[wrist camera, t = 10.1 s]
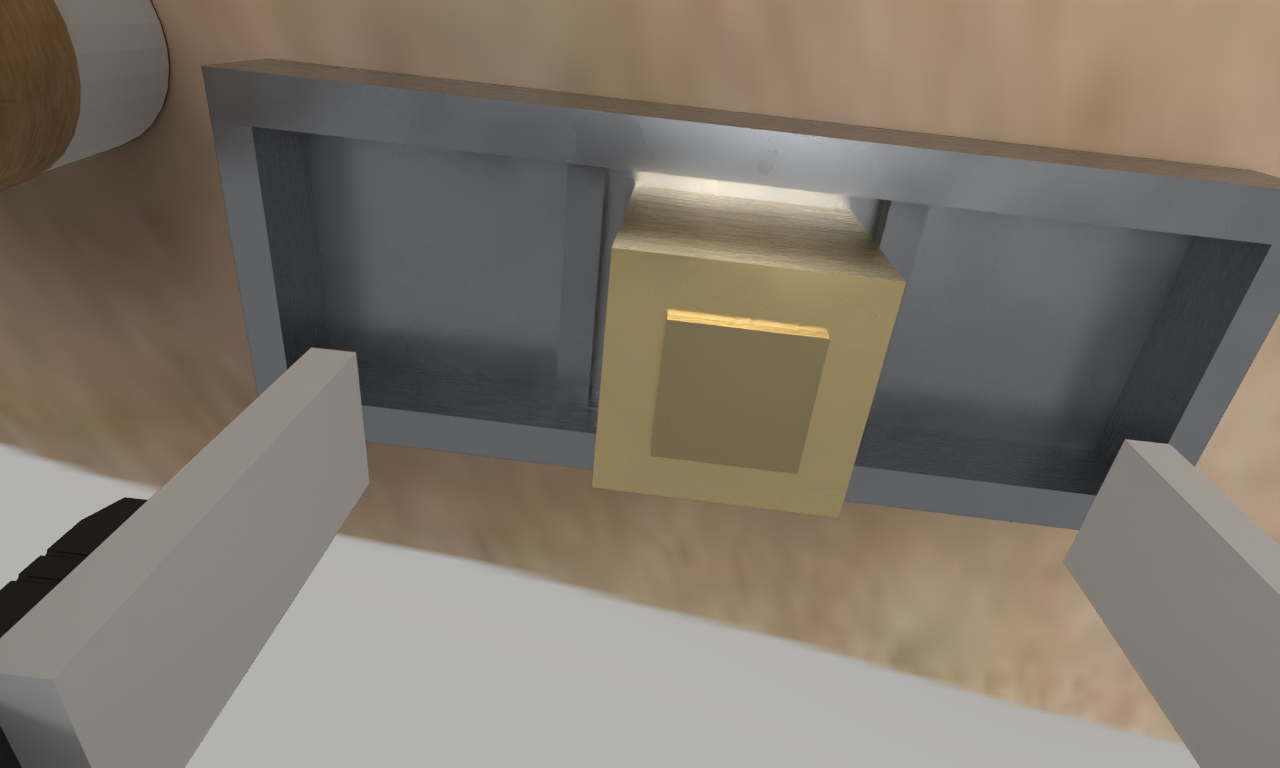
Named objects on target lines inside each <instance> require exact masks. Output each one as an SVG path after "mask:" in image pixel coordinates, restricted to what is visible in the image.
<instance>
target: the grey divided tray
mask: <svg viewBox="0 0 1280 768" xmlns="http://www.w3.org/2000/svg"><path fill="white" fill-rule="evenodd" d="M202 72H203V77H204V83H205V89H206V95H207V101H208V107H209V113H210V118H211V124H212V130H213V136H214V142H215V148H216V153H217V159H218V165H219V171H220V177H221V183H222V189H223V194H224V200H225V206H226V212H227V218H228V224H229V230H230V235H231V241H232V247H233V253H234V259H235V265H236V271H237V276H238V282H239V288H240V294H241V300H242V306H243V311H244V317H245V323H246V329H247V335H248V341H249V347H250V352H251V358H252V364H253V370H254V376H255V382H256V388H257V393H258V397H259V396H260V395H261V394H262V393H263V392H264V391H265V390H266V389H267V388H268V387H269V386H271V385H272V384H273V383H274V382H275V381H276V380H277V379H278V378H279V377H280V376H281V375H282V374H283V373H284V372H286V371H287V370H288V369H289V368H290V367H291V366H292V365H293V364H294V363H295V362H296V361H297V360H298V359H299V358H300V357H302V356H303V355H304V354H305V353H306V352H307V351H308V350H309V349H310V348H311V347H312V348H321V349H330V350H339V351H348V352H356V357H357V367H358V376H359V386H360V395H361V405H362V415H363V424H364V434H365V442H373V443H381V444H390V445H398V446H406V447H414V448H422V449H430V450H438V451H446V452H454V453H462V454H470V455H478V456H486V457H494V458H502V459H510V460H518V461H526V462H535V463H543V464H551V465H559V466H567V467H575V468H583V469H591V470H593V469H594V457H595V445H596V433H597V421H598V408H599V396H600V384H601V372H602V360H603V348H604V336H605V324H606V311H607V299H608V287H609V275H610V263H611V251H612V246H613V243H614V240H615V238H616V235H617V232H618V230H619V227H620V224H621V222H622V219H623V216H624V214H625V211H626V208H627V206H628V203H629V200H630V198H631V195H632V192H633V190H634V187H635V185H638V186H646V187H655V188H664V189H672V190H681V191H689V192H698V193H706V194H715V195H724V196H732V197H741V198H749V199H758V200H767V201H775V202H784V203H792V204H801V205H810V206H818V207H827V208H835V209H844V210H851V211H852V213H853V214H854V215H855V217H856V218H857V219H858V221H859V222H860V223H861V224H862V226H863V227H864V228H865V230H866V231H867V232H868V233H869V235H870V236H871V237H872V239H873V240H874V241H875V243H876V244H877V245H878V246H879V248H880V249H881V250H882V252H883V253H884V254H885V255H886V257H887V258H888V259H889V261H890V262H891V263H892V265H893V266H894V267H895V268H896V270H897V271H898V272H899V274H900V275H901V276H902V277H903V279H904V280H905V281H906V285H905V289H904V292H903V296H902V299H901V303H900V306H899V310H898V313H897V317H896V320H895V324H894V327H893V331H892V334H891V338H890V341H889V345H888V348H887V352H886V355H885V359H884V362H883V366H882V369H881V373H880V376H879V380H878V383H877V387H876V390H875V394H874V397H873V401H872V404H871V408H870V411H869V415H868V418H867V422H866V425H865V429H864V432H863V436H862V439H861V443H860V446H859V450H858V453H857V457H856V460H855V464H854V467H853V471H852V474H851V478H850V481H849V485H848V488H847V492H846V495H845V499H844V501H849V502H857V503H865V504H873V505H881V506H889V507H897V508H905V509H913V510H921V511H929V512H937V513H945V514H953V515H961V516H970V517H978V518H986V519H994V520H1002V521H1010V522H1018V523H1026V524H1034V525H1042V526H1050V527H1058V528H1066V529H1074V530H1080V528H1081V526H1082V524H1083V522H1084V520H1085V518H1086V516H1087V514H1088V512H1089V510H1090V508H1091V506H1092V504H1093V502H1094V500H1095V498H1096V496H1097V494H1098V492H1099V490H1100V488H1101V486H1102V484H1103V482H1104V480H1105V478H1106V476H1107V474H1108V472H1109V470H1110V468H1111V466H1112V464H1113V462H1114V460H1115V458H1116V456H1117V454H1118V452H1119V450H1120V448H1121V446H1122V444H1123V442H1124V440H1125V439H1128V440H1137V441H1146V442H1155V443H1163V444H1170V445H1171V446H1173V447H1174V448H1175V449H1176V450H1177V451H1178V452H1179V453H1180V454H1181V455H1182V456H1183V457H1184V458H1186V459H1187V460H1188V461H1189V462H1190V463H1191V464H1192V465H1193V466H1194V467H1195V465H1196V464H1197V462H1198V460H1199V458H1200V456H1201V455H1202V453H1203V451H1204V449H1205V447H1206V446H1207V444H1208V442H1209V440H1210V438H1211V436H1212V435H1213V433H1214V431H1215V429H1216V427H1217V426H1218V424H1219V422H1220V420H1221V418H1222V417H1223V415H1224V413H1225V411H1226V409H1227V407H1228V406H1229V404H1230V402H1231V400H1232V398H1233V397H1234V395H1235V393H1236V391H1237V389H1238V388H1239V386H1240V384H1241V382H1242V380H1243V379H1244V377H1245V375H1246V373H1247V371H1248V369H1249V368H1250V366H1251V364H1252V362H1253V360H1254V359H1255V357H1256V355H1257V353H1258V351H1259V350H1260V348H1261V346H1262V344H1263V342H1264V340H1265V339H1266V337H1267V335H1268V333H1269V331H1270V330H1271V328H1272V326H1273V324H1274V322H1275V321H1276V319H1277V317H1278V315H1279V313H1280V178H1277V177H1274V176H1270V175H1267V174H1263V173H1260V172H1256V171H1251V170H1242V169H1234V168H1225V167H1216V166H1207V165H1198V164H1190V163H1181V162H1172V161H1163V160H1154V159H1146V158H1137V157H1128V156H1119V155H1111V154H1102V153H1093V152H1084V151H1075V150H1067V149H1058V148H1049V147H1040V146H1031V145H1023V144H1014V143H1005V142H996V141H987V140H979V139H970V138H961V137H952V136H943V135H935V134H926V133H917V132H908V131H900V130H891V129H882V128H873V127H864V126H856V125H847V124H838V123H829V122H820V121H812V120H803V119H794V118H785V117H776V116H768V115H759V114H750V113H741V112H733V111H724V110H715V109H706V108H697V107H689V106H680V105H671V104H662V103H653V102H645V101H636V100H627V99H618V98H609V97H601V96H592V95H583V94H574V93H565V92H557V91H548V90H539V89H530V88H522V87H513V86H504V85H495V84H486V83H478V82H469V81H460V80H451V79H442V78H434V77H425V76H416V75H407V74H398V73H390V72H381V71H372V70H363V69H355V68H346V67H337V66H328V65H319V64H311V63H302V62H293V61H284V60H275V59H263V60H253V61H244V62H234V63H225V64H215V65H205V66H202Z"/></svg>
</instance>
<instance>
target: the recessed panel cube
mask: <svg viewBox="0 0 1280 768" xmlns="http://www.w3.org/2000/svg"><path fill="white" fill-rule="evenodd" d="M905 285H906V281H905V280H904V279H903V277H902V276H901V275H900V274H899V272H898V271H897V270H896V268H895V267H894V266H893V265H892V263H891V262H890V261H889V259H888V258H887V257H886V255H885V254H884V253H883V252H882V250H881V249H880V248H879V246H878V245H877V244H876V243H875V241H874V240H873V239H872V237H871V236H870V235H869V233H868V232H867V231H866V230H865V228H864V227H863V226H862V224H861V223H860V222H859V221H858V219H857V218H856V217H855V215H854V214H853V213H852V211H851V210H844V209H835V208H827V207H818V206H810V205H801V204H792V203H784V202H775V201H767V200H758V199H749V198H741V197H732V196H724V195H715V194H706V193H698V192H689V191H681V190H672V189H664V188H655V187H646V186H638V185H635V187H634V190H633V192H632V195H631V198H630V200H629V203H628V206H627V208H626V211H625V214H624V216H623V219H622V222H621V224H620V227H619V230H618V232H617V235H616V238H615V240H614V243H613V246H612V251H611V263H610V275H609V287H608V299H607V311H606V324H605V336H604V348H603V360H602V372H601V384H600V396H599V408H598V421H597V433H596V445H595V457H594V469H593V481H592V487H593V488H601V489H609V490H617V491H625V492H633V493H641V494H649V495H658V496H666V497H674V498H682V499H690V500H698V501H706V502H714V503H722V504H730V505H738V506H746V507H754V508H762V509H770V510H778V511H786V512H794V513H802V514H810V515H818V516H826V517H834V518H839V516H840V513H841V509H842V506H843V502H844V499H845V495H846V492H847V488H848V485H849V481H850V478H851V474H852V471H853V467H854V464H855V460H856V457H857V453H858V450H859V446H860V443H861V439H862V436H863V432H864V429H865V425H866V422H867V418H868V415H869V411H870V408H871V404H872V401H873V397H874V394H875V390H876V387H877V383H878V380H879V376H880V373H881V369H882V366H883V362H884V359H885V355H886V352H887V348H888V345H889V341H890V338H891V334H892V331H893V327H894V324H895V320H896V317H897V313H898V310H899V306H900V303H901V299H902V296H903V292H904V289H905Z"/></svg>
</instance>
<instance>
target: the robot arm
mask: <svg viewBox="0 0 1280 768" xmlns="http://www.w3.org/2000/svg"><path fill="white" fill-rule="evenodd" d="M369 483H370V482H369V472H368V463H367V453H366V444H365V434H364V424H363V415H362V405H361V395H360V386H359V376H358V367H357V357H356V352H348V351H339V350H330V349H321V348H312V347H311V348H310V349H309V350H308V351H307V352H306V353H305V354H304V355H303V356H302V357H300V358H299V359H298V360H297V361H296V362H295V363H294V364H293V365H292V366H291V367H290V368H289V369H288V370H287V371H286V372H284V373H283V374H282V375H281V376H280V377H279V378H278V379H277V380H276V381H275V382H274V383H273V384H272V385H271V386H269V387H268V388H267V389H266V390H265V391H264V392H263V393H262V394H261V395H260V396H259V397H258V398H257V399H256V400H255V401H253V402H252V403H251V404H250V405H249V406H248V407H247V408H246V409H245V410H244V411H243V412H242V413H241V414H240V415H239V416H237V417H236V418H235V419H234V420H233V421H232V422H231V423H230V424H229V425H228V426H227V427H226V428H225V429H224V430H222V431H221V432H220V433H219V434H218V435H217V436H216V437H215V438H214V439H213V440H212V441H211V442H210V443H209V444H208V445H206V446H205V447H204V448H203V449H202V450H201V451H200V452H199V453H198V454H197V455H196V456H195V457H194V458H193V459H191V460H190V461H189V462H188V463H187V464H186V465H185V466H184V467H183V468H182V469H181V470H180V471H179V472H178V473H177V474H175V475H174V476H173V477H172V478H171V479H170V480H169V481H168V482H167V483H166V484H165V485H164V486H163V487H162V488H160V489H159V490H158V491H157V492H156V493H155V494H154V495H153V496H152V497H151V498H150V499H149V500H142V499H134V498H123V499H121V500H119V501H117V502H115V503H113V504H111V505H109V506H108V507H106V508H104V509H102V510H100V511H98V512H96V513H94V514H93V515H90V516H88V517H87V518H85V519H83V520H81V521H80V522H79V523H77V524H76V525H75V526H74V527H73V528H72V529H70V530H69V531H68V532H67V533H66V534H65V535H63V536H62V537H61V538H60V539H59V540H58V541H57V542H56V543H54V544H53V545H52V546H51V547H50V548H48V550H47V554H46V555H45V556H40V557H38V558H37V559H36V560H35V561H33V562H32V563H31V564H30V565H29V566H28V567H27V568H25V569H24V570H23V571H22V572H21V573H20V574H19V577H18V579H17V581H10V582H9V583H8V584H7V585H6V586H5V587H3V588H2V589H1V590H0V768H185V766H186V765H187V763H188V762H189V760H190V759H191V757H192V756H193V754H194V752H195V751H196V749H197V748H198V746H199V745H200V743H201V742H202V740H203V739H204V737H205V735H206V734H207V732H208V731H209V729H210V728H211V726H212V725H213V723H214V721H215V720H216V718H217V717H218V716H219V714H220V712H221V711H222V709H223V708H224V706H225V705H226V703H227V702H228V700H229V699H230V697H231V695H232V694H233V692H234V691H235V689H236V688H237V686H238V685H239V683H240V682H241V680H242V678H243V677H244V676H245V674H246V673H247V671H248V669H249V668H250V666H251V665H252V663H253V662H254V660H255V659H256V657H257V656H258V654H259V652H260V651H261V649H262V648H263V646H264V645H265V643H266V642H267V640H268V639H269V637H270V636H271V634H272V632H273V631H274V629H275V628H276V626H277V625H278V623H279V622H280V620H281V619H282V617H283V616H284V614H285V613H286V611H287V609H288V608H289V606H290V605H291V603H292V602H293V600H294V599H295V597H296V596H297V594H298V592H299V591H300V589H301V588H302V586H303V585H304V583H305V581H306V580H307V578H308V577H309V576H310V574H311V572H312V571H313V569H314V568H315V566H316V565H317V563H318V562H319V560H320V559H321V557H322V556H323V554H324V553H325V551H326V549H327V548H328V546H329V545H330V543H331V542H332V540H333V539H334V537H335V536H336V534H337V533H338V531H339V530H340V528H341V526H342V525H343V523H344V522H345V520H346V519H347V517H348V516H349V514H350V513H351V511H352V510H353V508H354V506H355V505H356V503H357V502H358V500H359V499H360V497H361V496H362V494H363V493H364V491H365V490H366V488H367V486H368V485H369ZM1063 562H1064V564H1065V565H1066V567H1067V568H1068V570H1069V571H1070V573H1071V574H1072V576H1073V577H1074V579H1075V580H1076V582H1077V583H1078V585H1079V586H1080V588H1081V589H1082V591H1083V592H1084V594H1085V595H1086V597H1087V598H1088V600H1089V601H1090V603H1091V604H1092V606H1093V607H1094V609H1095V610H1096V612H1097V613H1098V615H1099V616H1100V618H1101V619H1102V621H1103V622H1104V624H1105V625H1106V627H1107V628H1108V630H1109V631H1110V633H1111V634H1112V636H1113V637H1114V639H1115V640H1116V642H1117V643H1118V645H1119V646H1120V648H1121V649H1122V651H1123V652H1124V654H1125V655H1126V657H1127V658H1128V660H1129V661H1130V663H1131V664H1132V666H1133V667H1134V669H1135V670H1136V672H1137V673H1138V675H1139V676H1140V678H1141V679H1142V681H1143V682H1144V684H1145V685H1146V687H1147V688H1148V690H1149V691H1150V693H1151V694H1152V696H1153V697H1154V699H1155V700H1156V702H1157V703H1158V705H1159V706H1160V708H1161V709H1162V711H1163V712H1164V714H1165V715H1166V717H1167V718H1168V720H1169V721H1170V723H1171V724H1172V726H1173V727H1174V729H1175V730H1176V732H1177V733H1178V735H1179V736H1180V738H1181V739H1182V741H1183V742H1184V744H1185V745H1186V747H1187V748H1188V750H1189V751H1190V753H1191V754H1192V755H1193V757H1194V758H1195V760H1196V761H1197V763H1198V765H1199V766H1200V767H1201V768H1280V545H1279V544H1277V543H1276V542H1275V541H1274V540H1273V539H1272V538H1271V537H1270V536H1269V535H1268V534H1267V533H1266V532H1264V531H1263V530H1262V529H1261V528H1260V527H1259V526H1258V525H1257V524H1256V523H1255V522H1254V521H1253V520H1252V519H1250V518H1249V517H1248V516H1247V515H1246V514H1245V513H1244V512H1243V511H1242V510H1241V509H1240V508H1239V507H1237V506H1236V505H1235V504H1234V503H1233V502H1232V501H1231V500H1230V499H1229V498H1228V497H1227V496H1226V495H1224V494H1223V493H1222V492H1221V491H1220V490H1219V489H1218V488H1217V487H1216V486H1215V485H1214V484H1213V483H1212V482H1210V481H1209V480H1208V479H1207V478H1206V477H1205V476H1204V475H1203V474H1202V473H1201V472H1200V471H1199V470H1197V469H1196V468H1195V467H1194V466H1193V465H1192V464H1191V463H1190V462H1189V461H1188V460H1187V459H1186V458H1184V457H1183V456H1182V455H1181V454H1180V453H1179V452H1178V451H1177V450H1176V449H1175V448H1174V447H1173V446H1171V445H1170V444H1163V443H1155V442H1146V441H1137V440H1128V439H1125V440H1124V442H1123V444H1122V446H1121V448H1120V450H1119V452H1118V454H1117V456H1116V458H1115V460H1114V462H1113V464H1112V466H1111V468H1110V470H1109V472H1108V474H1107V476H1106V478H1105V480H1104V482H1103V484H1102V486H1101V488H1100V490H1099V492H1098V494H1097V496H1096V498H1095V500H1094V502H1093V504H1092V506H1091V508H1090V510H1089V512H1088V514H1087V516H1086V518H1085V520H1084V522H1083V524H1082V526H1081V528H1080V530H1079V532H1078V534H1077V536H1076V538H1075V540H1074V542H1073V544H1072V546H1071V548H1070V550H1069V552H1068V554H1067V556H1066V557H1065V559H1064V561H1063Z"/></svg>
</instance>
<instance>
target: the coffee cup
mask: <svg viewBox="0 0 1280 768" xmlns="http://www.w3.org/2000/svg"><path fill="white" fill-rule="evenodd" d="M168 78H169V63H168V53H167V45H166V42H165V38H164V35H163V31H162V27H161V24H160V21H159V19H158V17H157V15H156V12H155V10H154V8H153V6H152V4H151V1H150V0H0V191H1V190H4V189H6V188H9V187H11V186H14V185H16V184H19V183H22V182H24V181H27V180H29V179H31V178H33V177H35V176H37V175H39V174H41V173H43V172H46V171H49V170H52V169H55V168H58V167H60V166H63V165H66V164H69V163H72V162H75V161H78V160H81V159H84V158H86V157H89V156H92V155H95V154H98V153H101V152H104V151H107V150H109V149H112V148H115V147H118V146H120V145H122V144H125V143H127V142H129V141H130V140H132V139H134V138H136V137H138V136H140V135H141V134H142V133H143V132H144V131H145V130H146V129H147V128H149V127H150V126H151V125H152V124H153V122H154V120H155V119H156V117H157V115H158V114H159V112H160V111H161V109H162V106H163V103H164V100H165V97H166V93H167V90H168Z"/></svg>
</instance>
